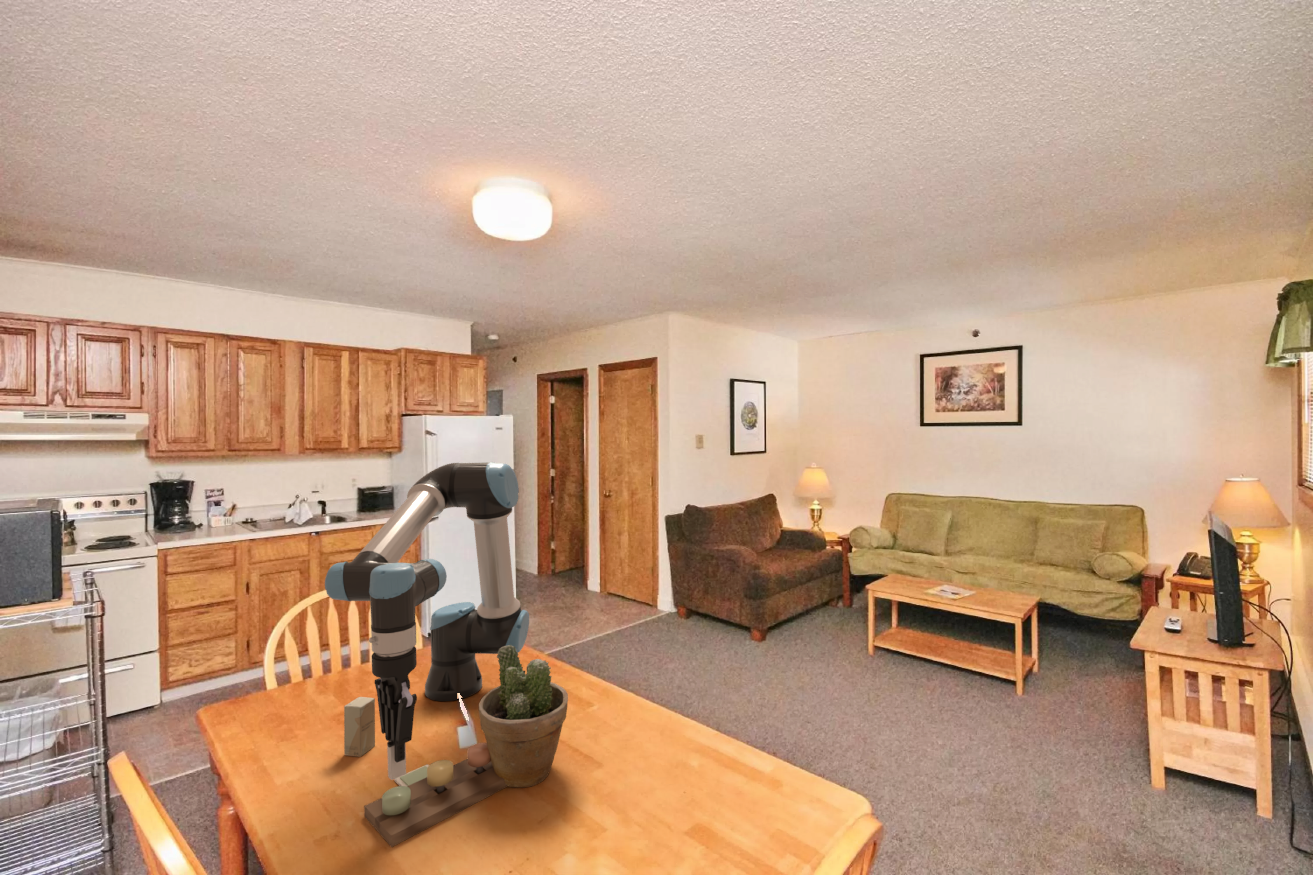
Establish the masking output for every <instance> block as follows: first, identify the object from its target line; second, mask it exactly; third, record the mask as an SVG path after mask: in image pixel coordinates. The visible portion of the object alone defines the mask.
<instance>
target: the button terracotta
mask: <svg viewBox="0 0 1313 875" xmlns="http://www.w3.org/2000/svg"><path fill="white" fill-rule="evenodd" d="M466 750H467V752H466V753H467V754H466V756H467V758H466V759H467V763H468V765H469V766H471V767H476V772H477V773H482V772H483V766H485V765H487V764H488V763H490V762H491V758H490V754H489V750H488V747H487V742H478V743H474V744H472V745H470V746H469V747H468V748H467V749H466Z"/></svg>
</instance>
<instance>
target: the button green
mask: <svg viewBox="0 0 1313 875" xmlns="http://www.w3.org/2000/svg"><path fill="white" fill-rule="evenodd" d="M381 798H382V812H383V813H384V814H385V815H393V816H394V815H397V814H400V813H402V812H404V811H406V810H407V809H408V808H409V807H410V805H411V790H410V788H409V787H406V786H399V785H398V786H394V787H392V788H388V790H386V791H385V792H384V793H383V794H382V796H381Z"/></svg>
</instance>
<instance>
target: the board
mask: <svg viewBox="0 0 1313 875" xmlns="http://www.w3.org/2000/svg"><path fill="white" fill-rule="evenodd" d="M407 787H409V788H410V790H411V805H410V807H409V808H408V809H407V810H406V811H404V812H402V813H400V814H397V815H394V816H393V815H385V814H384V813H383V812H382V797H381V798H378V799H375V801H372V802H370V803H368V804H365V805H363V806H364V807H363V808H364V809H363V810H364V814H363V815H364V818H365V819H366V820H367V821H368V822H369V824H370V825H371V826H372V827H373V828H374V829H375V830H376V832H377V833H378V834H379V835H380V836H381V837H382V838H383V839H384V840H385V842H386V843H387V844H388V845H389V846H390V848H393V847H395V846H397V845H398V844H400V843H402V842H404V841H406V840H408V839H410V838H412V837H413V836H416V835H417V834H419V833H421V832H424V831H425V830H427V829H429V828H431V827H432V826H435V825H436V824H438V823H440V822H442V821H445V820H446V819H448V818H451V817H452V816H454V815H456V814H458V813H460V812H461V811H463V810H465V809H468V808H470V807H471V806H473V805H475V804H477V803H478V802H479V803H480V802H481V801H482V800H484V799H487V798H488V797H490V796H492V795H494V794H496V793H497V792H499V791H501V790H503V789H506V788H507V787H508V786H507V785H506V784H505V781H504V778H501V777H499V776H498V775H497V774H496V773H495V771H494V768H493V765H492V762H490V763H488V764H487V765H485V766H483V772H482V773H477V772H476V767H471V766H469V765H468V763H467V758H466V759H464V760H461V761H460V762H457V763H454V764H453V779H452V780H451V781H450V782H449V783H447V784H445V785H444V791H443V792H437V787H434V786H430V785H428V783H427V777H426V778H424V779H422V780H420V781H418V782H415V783H413V784H411V785H409V786H407Z"/></svg>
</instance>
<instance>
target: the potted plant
mask: <svg viewBox="0 0 1313 875" xmlns="http://www.w3.org/2000/svg"><path fill="white" fill-rule="evenodd" d="M496 655H497V656H496V658H497V662H498V664H499V669H498V671H499V674H498V676H499V682H500V684H499V685H497V686H496V687H495V688H492V689H490V690H489V691H488V692H486V693H485V694H484V695H483V696H482V698H481V699H480V701H479V703H478V715H479V716H478V717H479V721H480V722H479V724H480V729H481V731H482V732H483V733H484V737H485V743H487V747H488V750H489V754H490V758H491V762H492V765H493V768H494V771H495V773H496V774H497V775H498V776H499V777H501V778H504V781H505V784H506V785H507V787H510V788H531V787H533V786H536V785H537V784H540V783H542V782H543V781H544V780H546V778H547V777H548V776H549V773H550V771H551V770H552V766H553V762H554V759H555V755H556V753H557V749H558V745H559V741H560V736H561V733H562V729H563V724H564V722H565V721H566V719H567V711H568V701H569V693H568V691H567V690H566V689H565V688H564V687H562V686H561V685H559V684H557V683H555V682H552V675H550V674H551V673H552V671H550V670H551V666H549V662H547V661H546V660H543V659H541V658H540V659H539V658H536V659H532V660H530V661H529V663H528V664H527V665H526V670H524V669H523V668H524V667H523V666H522V665H523V664H522V663H521V660H520V657H519V652H516V648H515V647H514V646H512V645H508V646H503V647H501V648H500V649H499V652H498V654H496Z"/></svg>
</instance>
